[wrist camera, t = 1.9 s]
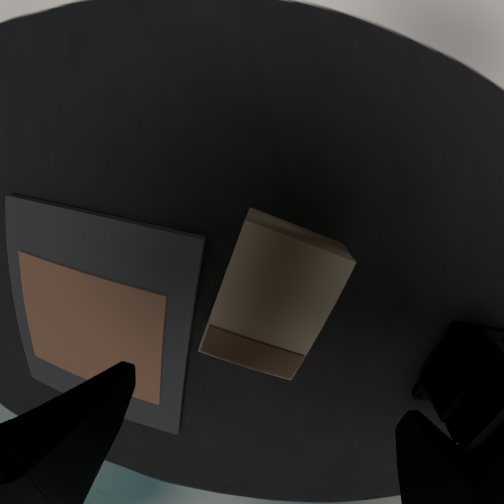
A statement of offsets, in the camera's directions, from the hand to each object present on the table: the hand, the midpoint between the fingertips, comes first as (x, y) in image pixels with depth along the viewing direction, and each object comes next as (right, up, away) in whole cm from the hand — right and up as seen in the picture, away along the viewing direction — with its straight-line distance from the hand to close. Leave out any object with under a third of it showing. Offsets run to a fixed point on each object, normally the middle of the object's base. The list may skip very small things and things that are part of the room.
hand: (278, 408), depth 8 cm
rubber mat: (-12, 0, +10) cm, 15 cm away
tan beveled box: (0, +3, +8) cm, 9 cm away
